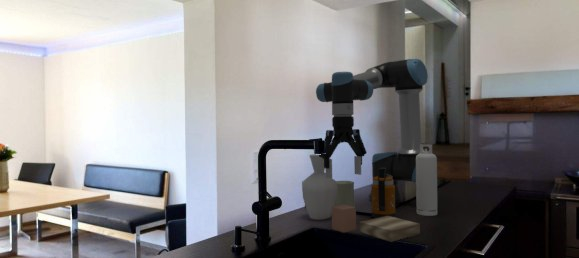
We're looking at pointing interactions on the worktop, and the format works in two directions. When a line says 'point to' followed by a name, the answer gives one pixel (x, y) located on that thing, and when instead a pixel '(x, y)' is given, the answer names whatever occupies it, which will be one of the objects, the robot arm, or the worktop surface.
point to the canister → (383, 195)
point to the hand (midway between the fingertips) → (343, 176)
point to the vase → (319, 191)
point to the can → (345, 193)
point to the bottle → (426, 182)
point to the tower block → (344, 218)
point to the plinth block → (389, 228)
